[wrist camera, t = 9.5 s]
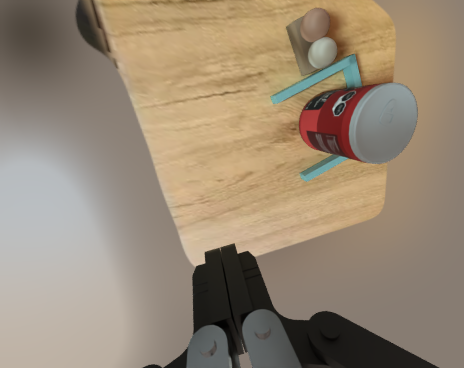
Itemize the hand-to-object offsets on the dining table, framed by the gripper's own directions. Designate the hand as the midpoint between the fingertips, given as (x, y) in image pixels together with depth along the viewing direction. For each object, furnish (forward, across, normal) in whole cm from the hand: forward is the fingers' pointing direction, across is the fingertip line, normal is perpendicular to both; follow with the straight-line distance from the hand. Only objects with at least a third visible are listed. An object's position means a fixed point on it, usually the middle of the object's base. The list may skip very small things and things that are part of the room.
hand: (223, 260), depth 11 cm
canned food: (+23, -18, +1) cm, 29 cm away
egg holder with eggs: (+23, -16, -8) cm, 30 cm away
